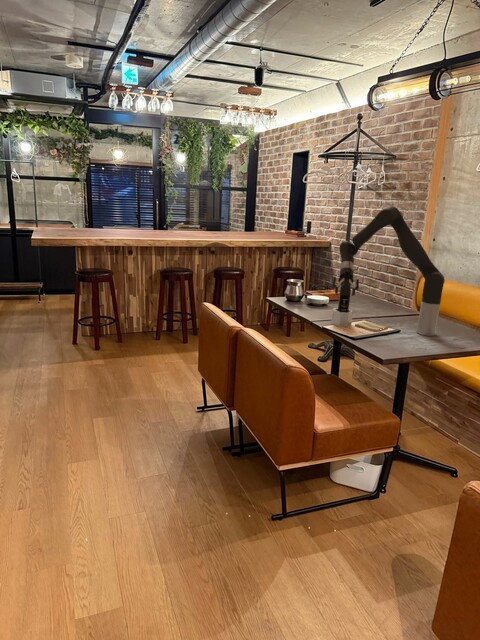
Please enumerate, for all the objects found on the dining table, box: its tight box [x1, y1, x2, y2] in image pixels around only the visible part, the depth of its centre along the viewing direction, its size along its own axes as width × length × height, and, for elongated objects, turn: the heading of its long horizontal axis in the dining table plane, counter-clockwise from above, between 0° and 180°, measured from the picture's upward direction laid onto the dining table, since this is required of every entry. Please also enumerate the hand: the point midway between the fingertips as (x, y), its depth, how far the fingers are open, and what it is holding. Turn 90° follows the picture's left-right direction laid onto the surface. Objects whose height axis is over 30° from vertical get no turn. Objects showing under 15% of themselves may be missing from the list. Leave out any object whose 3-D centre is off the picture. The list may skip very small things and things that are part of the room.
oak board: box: [354, 321, 389, 332], centre depth 252 cm, size 13×13×1 cm
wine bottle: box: [337, 270, 352, 312], centre depth 251 cm, size 6×6×30 cm
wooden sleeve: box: [331, 307, 354, 327], centre depth 253 cm, size 10×10×8 cm
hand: (344, 294), depth 251 cm, fingers open, 8 cm apart
